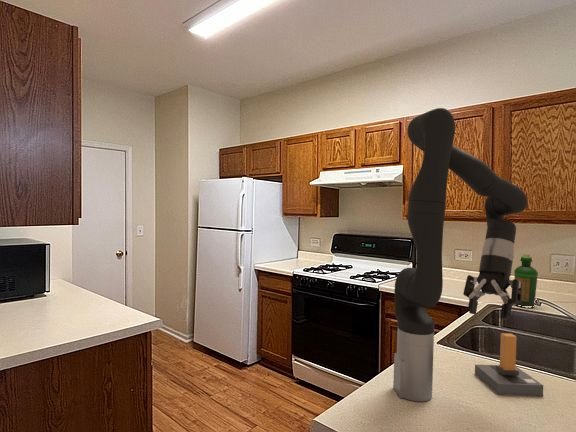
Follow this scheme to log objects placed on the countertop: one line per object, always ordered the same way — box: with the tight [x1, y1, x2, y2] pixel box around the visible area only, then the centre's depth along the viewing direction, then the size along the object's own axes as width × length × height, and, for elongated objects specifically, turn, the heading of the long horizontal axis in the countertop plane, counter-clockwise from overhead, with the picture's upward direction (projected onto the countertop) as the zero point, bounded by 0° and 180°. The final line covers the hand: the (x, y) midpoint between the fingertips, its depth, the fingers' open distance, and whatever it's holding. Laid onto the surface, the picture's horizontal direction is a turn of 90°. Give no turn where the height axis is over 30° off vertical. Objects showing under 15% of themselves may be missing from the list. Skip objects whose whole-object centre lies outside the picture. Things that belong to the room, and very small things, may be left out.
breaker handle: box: [495, 332, 519, 376], centre depth 103 cm, size 4×4×11 cm
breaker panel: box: [474, 364, 544, 397], centre depth 104 cm, size 12×12×3 cm
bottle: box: [513, 253, 539, 308], centre depth 194 cm, size 11×11×28 cm
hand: (487, 316), depth 95 cm, fingers open, 8 cm apart
